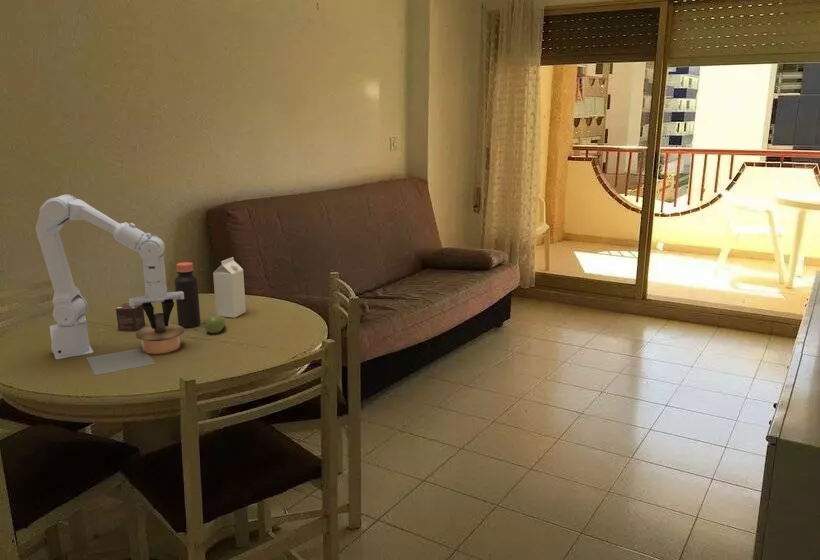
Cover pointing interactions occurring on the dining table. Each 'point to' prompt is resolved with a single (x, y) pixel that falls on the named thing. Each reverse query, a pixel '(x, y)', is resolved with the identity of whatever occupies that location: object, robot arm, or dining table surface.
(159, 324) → the lid
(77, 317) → the robot arm
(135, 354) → the mat
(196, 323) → the bottle
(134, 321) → the box
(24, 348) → the dining table surface
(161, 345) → the bowl
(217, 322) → the pear
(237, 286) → the milk carton
